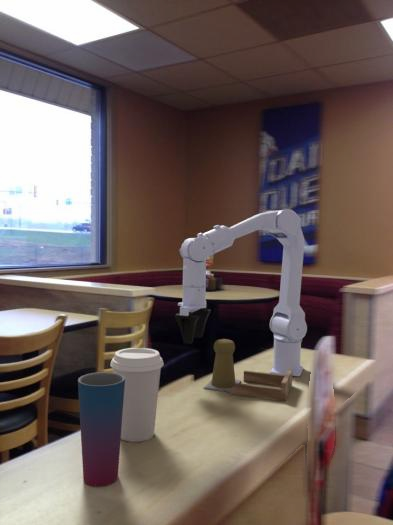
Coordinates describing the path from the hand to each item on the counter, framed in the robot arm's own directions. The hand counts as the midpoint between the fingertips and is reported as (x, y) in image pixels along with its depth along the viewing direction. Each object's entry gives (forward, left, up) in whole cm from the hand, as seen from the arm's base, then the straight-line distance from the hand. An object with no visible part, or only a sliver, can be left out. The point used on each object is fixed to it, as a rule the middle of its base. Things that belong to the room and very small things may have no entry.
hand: (193, 340), depth 118 cm
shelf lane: (0, +18, -10) cm, 20 cm away
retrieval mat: (0, +8, -10) cm, 13 cm away
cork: (0, +8, -10) cm, 13 cm away
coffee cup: (+34, +1, -11) cm, 36 cm away
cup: (+50, +3, -11) cm, 51 cm away
